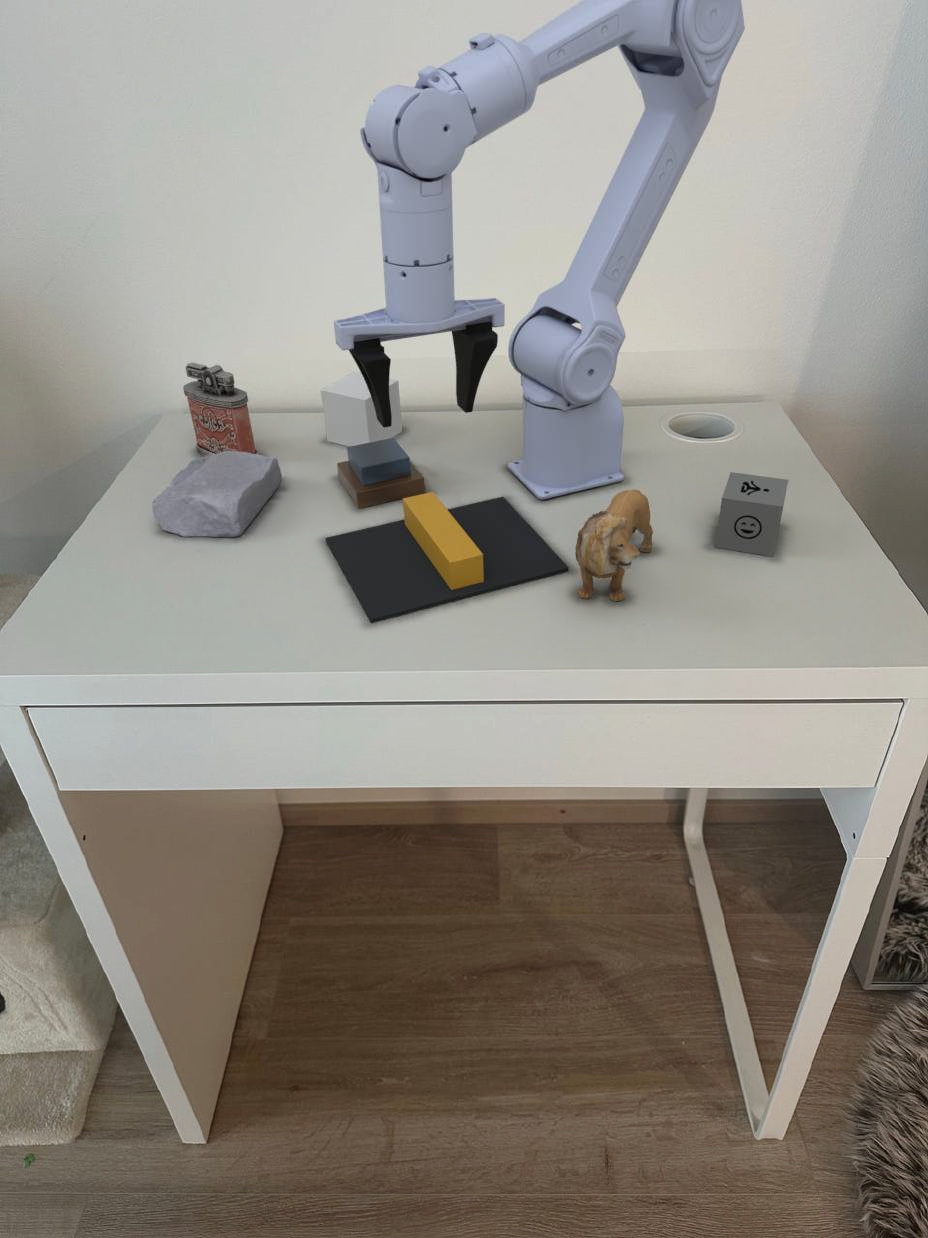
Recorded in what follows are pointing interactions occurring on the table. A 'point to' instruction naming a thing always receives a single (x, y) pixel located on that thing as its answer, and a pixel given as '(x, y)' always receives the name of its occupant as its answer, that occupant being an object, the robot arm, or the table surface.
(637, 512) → the lion figurine
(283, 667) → the table surface
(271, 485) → the stone block
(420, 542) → the bar
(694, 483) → the table surface
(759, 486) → the dice cube
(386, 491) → the brown blue stepped block
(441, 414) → the table surface
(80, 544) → the table surface
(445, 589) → the mat
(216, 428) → the lighter
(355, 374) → the white cube
